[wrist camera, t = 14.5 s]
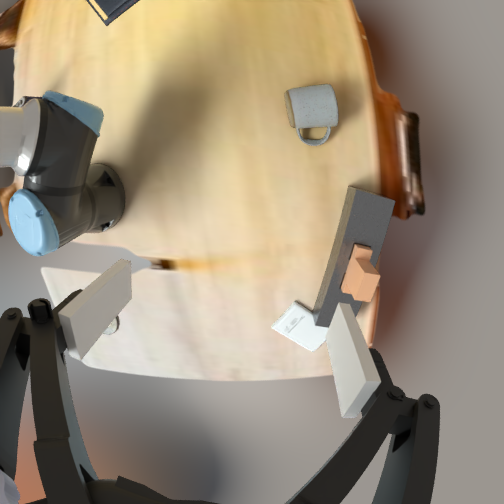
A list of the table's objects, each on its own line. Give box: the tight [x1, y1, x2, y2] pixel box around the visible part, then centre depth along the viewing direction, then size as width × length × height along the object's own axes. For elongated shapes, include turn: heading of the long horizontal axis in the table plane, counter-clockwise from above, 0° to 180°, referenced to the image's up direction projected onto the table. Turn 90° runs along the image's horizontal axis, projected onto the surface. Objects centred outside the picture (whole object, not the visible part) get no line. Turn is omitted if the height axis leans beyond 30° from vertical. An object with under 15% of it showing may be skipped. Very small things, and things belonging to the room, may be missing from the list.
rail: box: [312, 186, 395, 328], centre depth 51 cm, size 8×28×5 cm, turn 170°
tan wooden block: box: [341, 243, 380, 302], centre depth 47 cm, size 3×9×12 cm, turn 170°
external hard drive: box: [272, 301, 329, 352], centre depth 60 cm, size 2×8×12 cm
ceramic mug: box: [284, 84, 338, 146], centre depth 41 cm, size 11×8×8 cm
